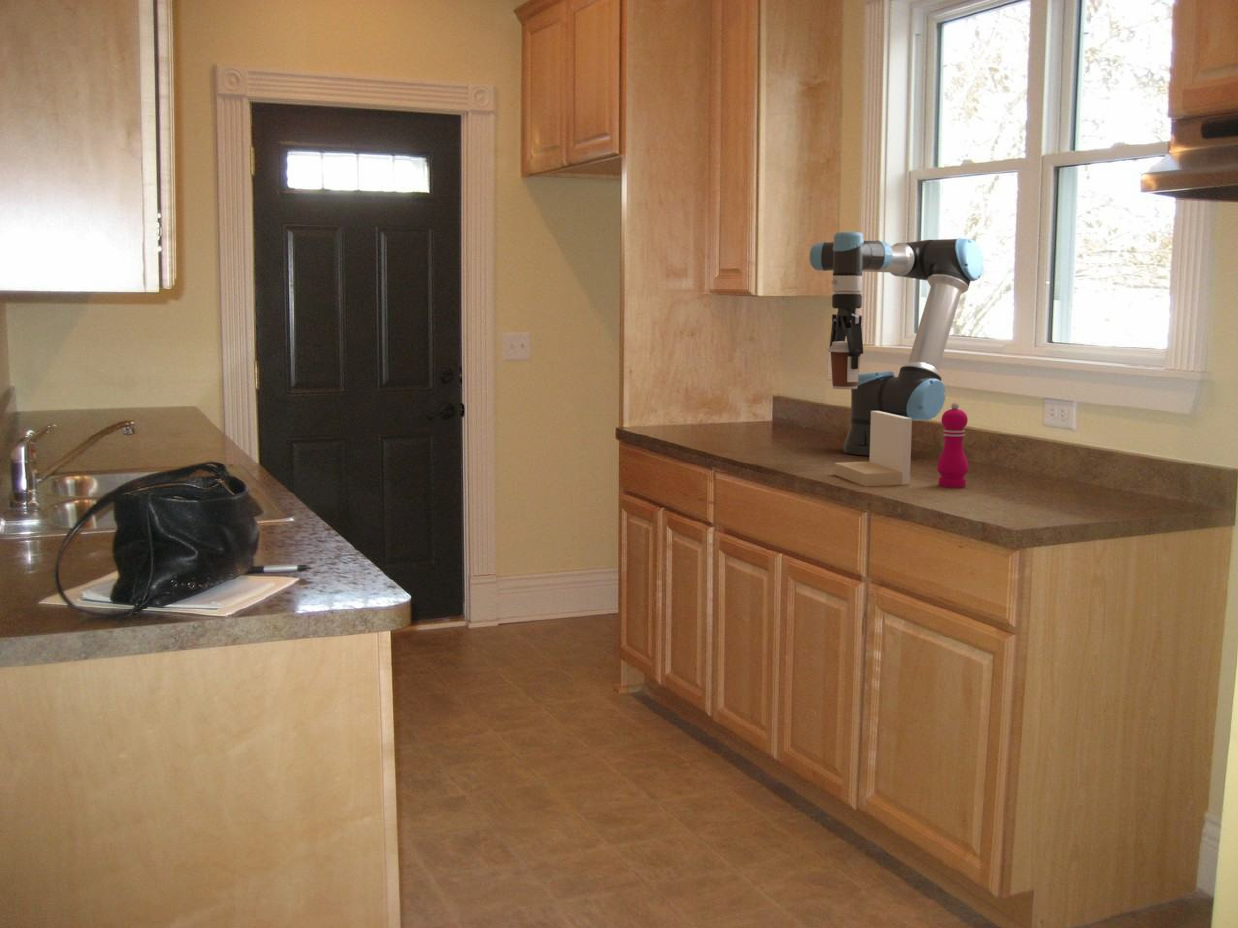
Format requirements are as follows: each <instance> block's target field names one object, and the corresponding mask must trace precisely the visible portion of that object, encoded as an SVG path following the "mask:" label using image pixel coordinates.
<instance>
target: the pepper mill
mask: <svg viewBox="0 0 1238 928" xmlns="http://www.w3.org/2000/svg"><path fill="white" fill-rule="evenodd" d="M959 407H960V404H959V403H958V402H952V403H951V407H950V408H951V409H947V410H945V411H944V412H943V414H942V416H941V425H942V426H943V428H944V429H943V430H942V431H943V433H942V435H943V436H944V447H943V450H942V451H941V454H940V456H939V459H938V461H937V466H936V470H937V472H938V473H939V475H940V476H941V477H939V478H938V486H939V487H942V488H949V489H950V488H951V489H953V488H955V489H959V488H965V487H966V485H967V483H966V482H967V479H966V478H965V476H966V474H967V473H968V472H969V462H968V459H967V456H966V454H965V451H964V446H963V445H964V444H963V440H964V437H965V435H966V434H965V432H966V430H965V427H967V424H968V421H969V420H968V419H969V418H968V415H967V413H966V412H965V411H963V410H961V409H959Z"/></svg>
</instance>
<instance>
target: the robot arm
mask: <svg viewBox="0 0 1238 928" xmlns="http://www.w3.org/2000/svg"><path fill="white" fill-rule="evenodd" d="M982 251H983V250H982V249H981V247H980V245H979V243H977V241H975V240H974V239H971V238H961V237H958V238H950V239H949V238H948V239H947V238H946V239H945V238H943V239H942V238H941V239H925V240H917V241H911V242H910V241H909V242H897V243H894V244H893V245H890V244H889V243H888V242H886V241H881V240H864V234H863V233H862V232H859V231H842V232H841V231H840V232H836V233H835V234H834V236H833V241H831V242H830V241H829V242H828V241H823V242H817V243H815V244H814V245H812V247H811V248H810V252H809V262H810V265H811V267H812V268H813V269H814V270H816V271H822V272H826V271H832V280H830V281H831V284H832V291H833V292H834V294H832V295H831V296H832V298H831V306H832V307H831V308H832V309H837V312H836V314H832V315H831V329H830V340H829V341H830V342H829V348H831V346H832V342H836V341H847V343H848V349H849V353H848V354H847V356H848V369H847V382H858V385H857V389H850V391H851V398H850V400H851V404H850V406H851V407H850V408H851V409H850V426H849V429H848V432H847V436H846V438H845V442H844V445H843V453H845V454H850V455H855V456H856V455H857V456H869V457H870V427H871V411H881V412H886V413H890V414H895V415H899V416H904V417H908V418H912V422H913V421H915V422H919V421H930V420H932V419H933V418H935V417H937V416H938V414H940V412H941V410H942V408H943V407H944V403H945V401H946V394H945V393H946V387H945V385H944V383H943V382H942V379H943V378H942V376H941V373H940V371H939V369H940V366H941V363H942V359H943V357H944V353H945V349H946V345H947V342H948V340H949V339H948V338H949V335H950V333H951V328H952V325H953V322H954V319H955V316H956V312H957V309H958V306H959V305H958V304H959V302H960V298H961V295H962V294H964V293H966V292H968V290H969V287H970V284H971V282H976V281H977V280H979V279H980V278H981V276H982V274H983V272H984V271H983V270H984V266H983V261H984V256H983V252H982ZM863 272H871V273H888V274H889V273H890V274H891V275H893V276H895V277H899V278H900V277H902V278H908V279H915V280H920V281H927V283H928V285H929V286H930V287H929V291H928V295H927V299H926V301H925V304H924V308H923V312H922V314H921V315H922V316H921V318H920V322H919V325H918V328H917V331H916V335H915V337H914V341H913V345H912V347H911V351H910V355H909V358H908V361H907V363H906V364H903V365H901V366H900V368H899V372H898V375H897V376H895V374H894V371H891V370H890V371H878V372H868V373H859V375H858V371H859V372H860V366H859V356H860V354H861V355H863V354H864V345H863V343H864V342H863V331H862V330H863V329H862V320H863V317H862V315H860V314H858V315H857V309H861V308H862V306H863V295H862V293H861V292H863V279H864V278H863ZM860 357H861V356H860Z"/></svg>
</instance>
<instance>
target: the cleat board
mask: <svg viewBox="0 0 1238 928" xmlns="http://www.w3.org/2000/svg"><path fill="white" fill-rule="evenodd" d="M912 426H913V420H912V418H908V417H904V416H899V415H895V414H890V413H886V412H881V411H871V427H870V456H869V461H853V462H834V468H833V469H834V471H833V474H834V476H837V477H840V478H841V479H842V478H843V479H845V480H848V481H850V482H853V483H855V484H858V485H861V486H863V487H872V486H873V487H881V486H882V487H883V486H904V485H906V486H907V485H911V458H912V457H911V455H912V454H911V453H912V431H913V430H912V428H913V427H912Z"/></svg>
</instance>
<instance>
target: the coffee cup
mask: <svg viewBox="0 0 1238 928" xmlns="http://www.w3.org/2000/svg"><path fill="white" fill-rule="evenodd" d="M827 352H830V364H831V379H832V380H831V381H832V389H833V390H834V389H835V390H851V389H857V385H858V382H847V369H848V356H847V354H848V353H849V349H848V343H847V340H845V341H836V342H832V346H831V348H830V347H829V348H828V349H827ZM861 356H862V354H860V356H859V367H860V364H861ZM859 374H860V370H859V371H858V375H859Z"/></svg>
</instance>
